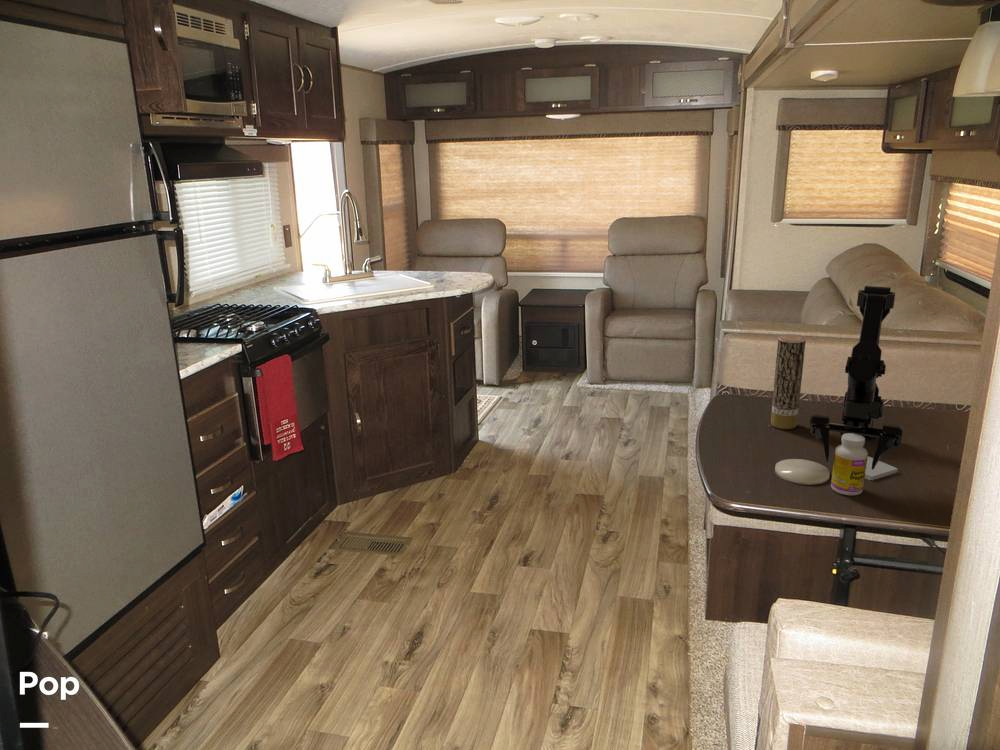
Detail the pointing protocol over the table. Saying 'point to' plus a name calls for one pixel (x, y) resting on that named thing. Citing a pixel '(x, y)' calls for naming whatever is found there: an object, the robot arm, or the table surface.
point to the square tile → (878, 470)
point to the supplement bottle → (849, 465)
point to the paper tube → (787, 381)
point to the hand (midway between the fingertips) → (849, 465)
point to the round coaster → (802, 471)
